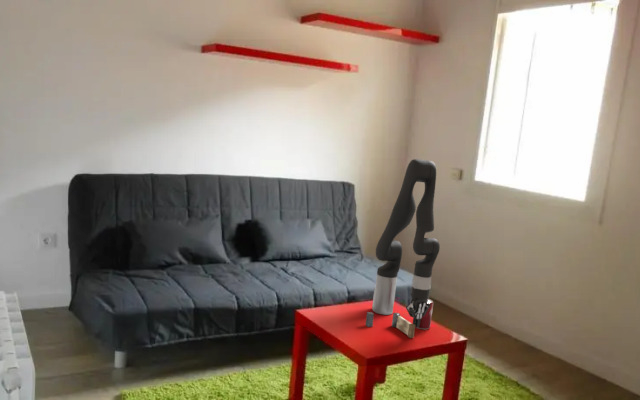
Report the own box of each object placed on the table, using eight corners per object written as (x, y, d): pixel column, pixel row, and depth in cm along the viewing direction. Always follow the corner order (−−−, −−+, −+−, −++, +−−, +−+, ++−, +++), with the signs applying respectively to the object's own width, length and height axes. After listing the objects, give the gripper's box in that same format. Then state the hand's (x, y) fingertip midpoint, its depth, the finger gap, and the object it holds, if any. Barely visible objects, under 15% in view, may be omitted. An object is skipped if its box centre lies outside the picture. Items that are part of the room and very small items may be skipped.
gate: (395, 327, 239) (397, 315, 238) (399, 327, 239) (400, 315, 239) (409, 338, 229) (411, 325, 228) (413, 337, 229) (415, 325, 229)
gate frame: (364, 324, 239) (366, 311, 239) (397, 325, 242) (398, 312, 242) (366, 327, 236) (368, 314, 236) (399, 327, 240) (401, 315, 239)
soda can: (416, 329, 239) (420, 302, 238) (410, 323, 246) (414, 297, 245) (432, 330, 241) (436, 303, 239) (426, 323, 248) (429, 297, 246)
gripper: (424, 281, 236) (419, 321, 239) (403, 285, 228) (398, 326, 230) (438, 287, 231) (433, 327, 233) (417, 290, 222) (411, 332, 225)
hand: (415, 326), depth 232 cm, fingers closed
